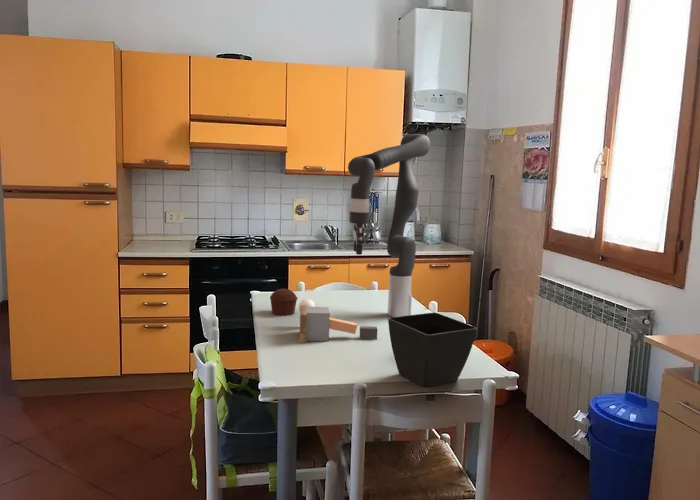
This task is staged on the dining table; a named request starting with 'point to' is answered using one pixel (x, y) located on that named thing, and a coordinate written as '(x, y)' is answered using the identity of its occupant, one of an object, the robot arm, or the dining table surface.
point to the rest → (368, 332)
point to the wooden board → (303, 323)
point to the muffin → (283, 302)
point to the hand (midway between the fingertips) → (357, 252)
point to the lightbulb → (307, 303)
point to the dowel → (342, 325)
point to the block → (317, 324)
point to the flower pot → (430, 347)
